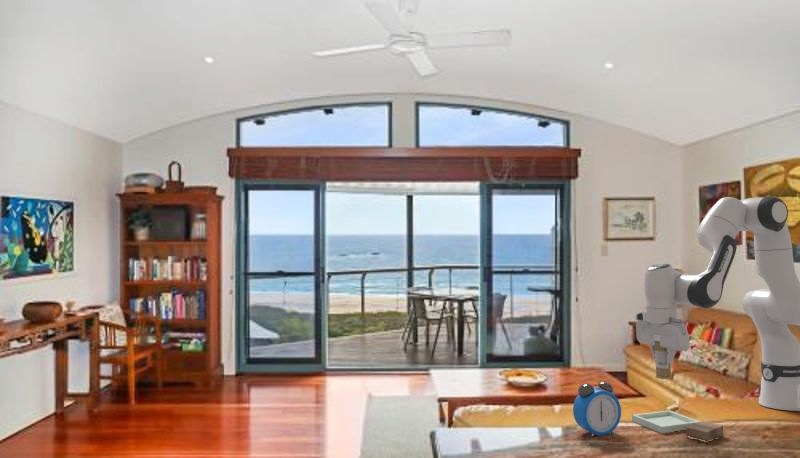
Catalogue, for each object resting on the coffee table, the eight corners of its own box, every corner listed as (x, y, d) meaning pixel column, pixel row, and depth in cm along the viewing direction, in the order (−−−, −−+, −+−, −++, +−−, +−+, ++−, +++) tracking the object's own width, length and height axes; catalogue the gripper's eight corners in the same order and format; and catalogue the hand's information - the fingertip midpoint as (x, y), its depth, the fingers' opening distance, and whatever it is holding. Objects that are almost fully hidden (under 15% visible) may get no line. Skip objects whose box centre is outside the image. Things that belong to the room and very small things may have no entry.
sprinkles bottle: (674, 377, 188) (672, 334, 189) (667, 380, 185) (665, 335, 186) (659, 375, 192) (657, 332, 192) (653, 378, 189) (651, 334, 189)
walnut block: (703, 431, 180) (702, 421, 180) (723, 436, 175) (722, 425, 175) (686, 437, 175) (685, 427, 175) (707, 442, 170) (706, 432, 170)
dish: (669, 416, 197) (669, 410, 197) (701, 428, 183) (701, 421, 183) (632, 421, 193) (631, 414, 193) (661, 433, 180) (661, 426, 180)
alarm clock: (584, 439, 177) (582, 387, 177) (572, 433, 183) (570, 382, 183) (623, 433, 181) (620, 382, 181) (610, 428, 187) (608, 378, 187)
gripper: (693, 319, 180) (696, 366, 180) (648, 312, 200) (650, 355, 199) (675, 320, 178) (678, 368, 178) (631, 314, 198) (633, 356, 198)
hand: (663, 361), depth 189 cm, fingers closed on sprinkles bottle, 4 cm apart
